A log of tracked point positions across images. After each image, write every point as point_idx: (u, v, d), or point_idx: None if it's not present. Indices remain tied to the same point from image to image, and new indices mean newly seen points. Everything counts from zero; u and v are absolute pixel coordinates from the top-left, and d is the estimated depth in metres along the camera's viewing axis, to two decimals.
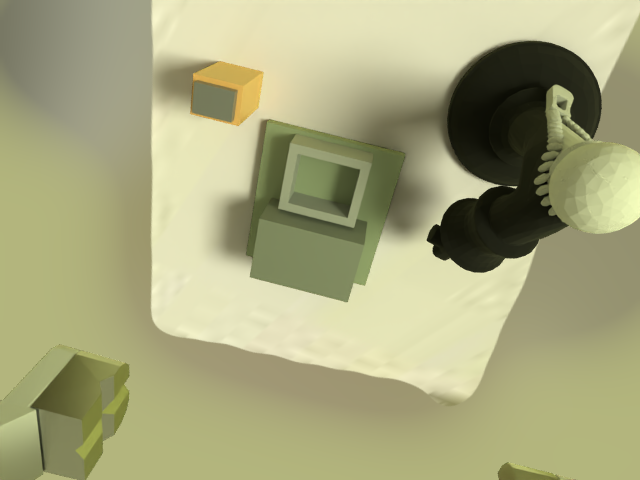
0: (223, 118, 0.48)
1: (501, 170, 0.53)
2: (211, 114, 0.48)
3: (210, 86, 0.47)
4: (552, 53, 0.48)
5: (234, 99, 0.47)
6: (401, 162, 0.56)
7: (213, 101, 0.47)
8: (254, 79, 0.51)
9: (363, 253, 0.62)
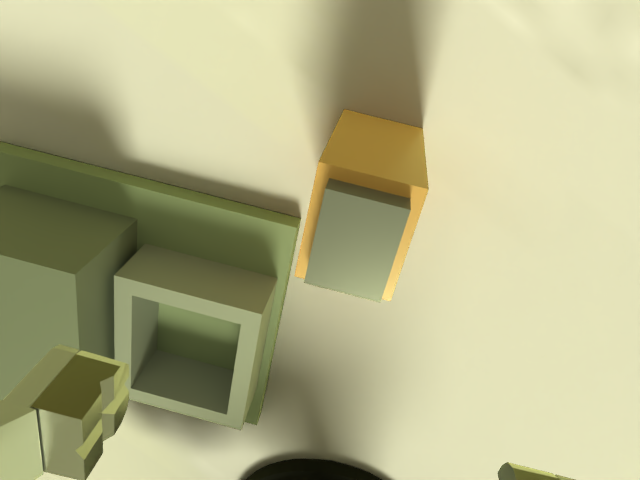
0: (313, 266, 0.18)
1: None
2: (322, 239, 0.18)
3: (396, 248, 0.18)
4: None
5: None
6: (246, 420, 0.34)
7: (356, 250, 0.18)
8: None
9: None
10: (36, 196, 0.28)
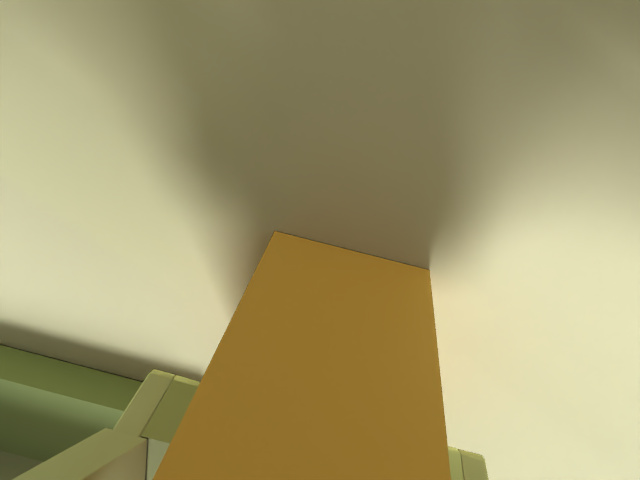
0: None
1: None
2: None
3: None
4: None
5: None
6: None
7: None
8: None
9: None
10: None
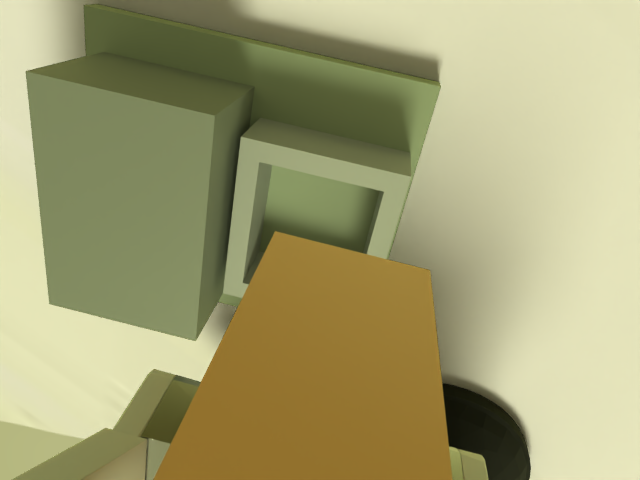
0: None
1: None
2: None
3: None
4: None
5: None
6: None
7: None
8: None
9: None
10: (141, 62, 0.25)
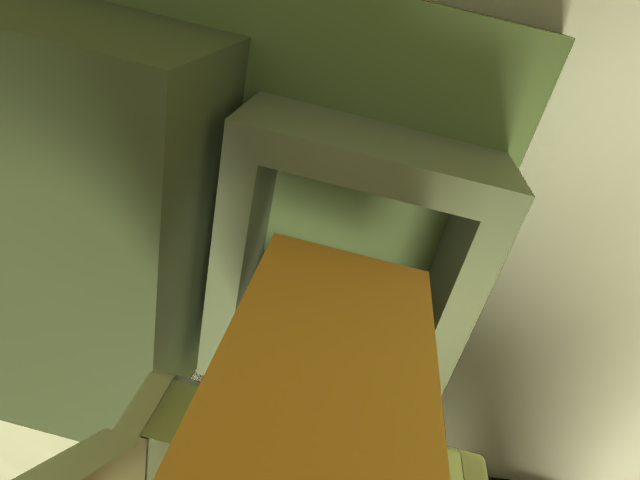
0: None
1: None
2: None
3: None
4: None
5: None
6: None
7: None
8: None
9: None
10: None
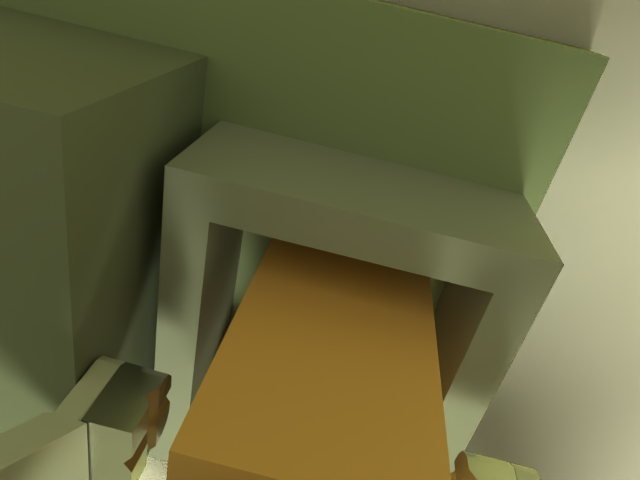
0: None
1: None
2: None
3: None
4: None
5: None
6: None
7: None
8: None
9: None
10: None
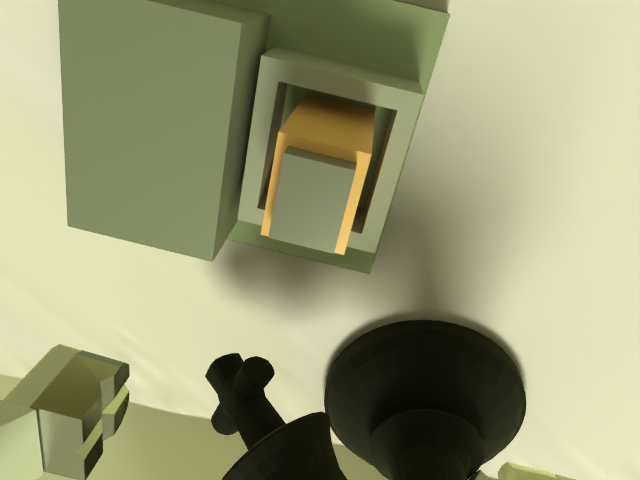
0: (275, 223, 0.21)
1: (354, 405, 0.36)
2: (282, 198, 0.21)
3: (345, 204, 0.21)
4: (510, 438, 0.37)
5: None
6: (358, 269, 0.32)
7: (312, 207, 0.21)
8: None
9: None
10: None
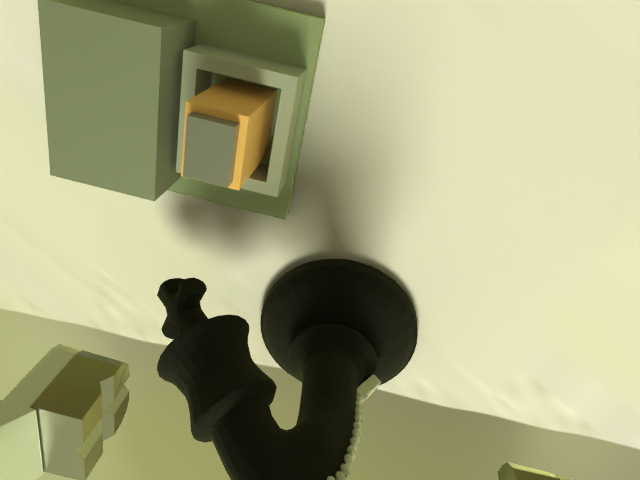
0: (186, 165, 0.31)
1: (280, 327, 0.45)
2: (189, 147, 0.30)
3: (231, 151, 0.30)
4: (406, 355, 0.46)
5: None
6: (276, 215, 0.42)
7: (209, 153, 0.30)
8: (253, 168, 0.36)
9: None
10: (117, 2, 0.35)
